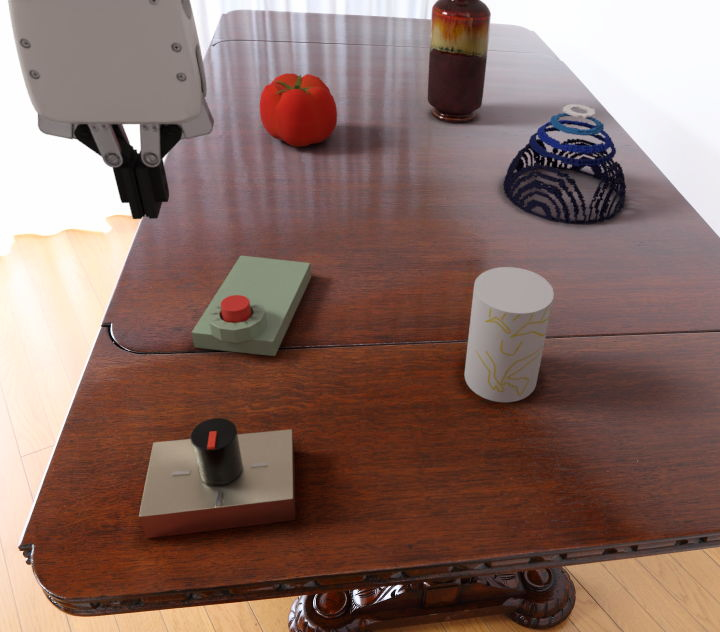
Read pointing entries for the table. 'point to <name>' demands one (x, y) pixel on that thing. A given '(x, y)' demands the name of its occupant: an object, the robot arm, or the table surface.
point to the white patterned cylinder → (507, 333)
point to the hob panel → (219, 487)
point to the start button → (235, 309)
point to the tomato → (298, 109)
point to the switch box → (255, 306)
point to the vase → (458, 58)
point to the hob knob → (217, 451)
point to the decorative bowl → (577, 165)
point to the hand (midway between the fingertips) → (148, 209)
